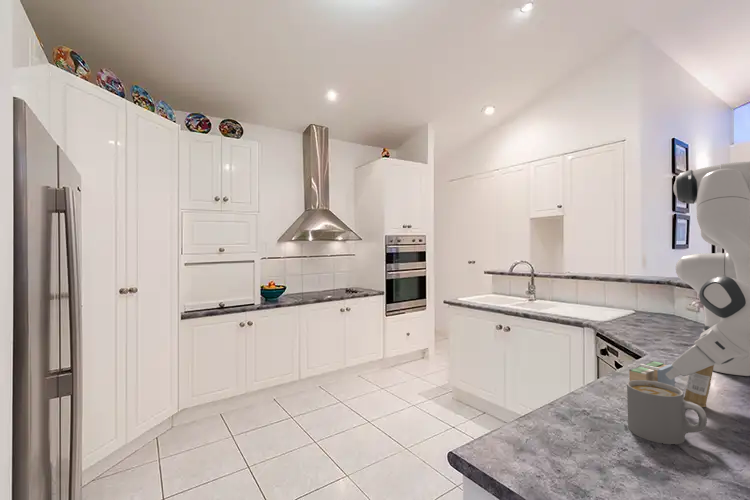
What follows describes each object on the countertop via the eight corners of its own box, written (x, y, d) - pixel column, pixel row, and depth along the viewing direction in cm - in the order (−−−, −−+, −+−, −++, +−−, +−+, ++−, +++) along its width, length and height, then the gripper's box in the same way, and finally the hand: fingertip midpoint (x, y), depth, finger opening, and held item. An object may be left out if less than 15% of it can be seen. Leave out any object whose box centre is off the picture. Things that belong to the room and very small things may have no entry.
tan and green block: (652, 385, 108) (651, 361, 108) (668, 389, 104) (668, 364, 104) (629, 395, 100) (629, 369, 100) (646, 400, 97) (645, 373, 97)
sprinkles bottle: (708, 405, 93) (719, 356, 92) (702, 409, 91) (713, 358, 89) (686, 397, 97) (696, 349, 96) (679, 400, 95) (690, 351, 93)
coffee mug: (620, 430, 81) (619, 386, 81) (638, 418, 87) (637, 376, 87) (698, 457, 70) (696, 406, 70) (712, 441, 76) (711, 394, 76)
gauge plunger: (654, 388, 105) (653, 358, 105) (675, 393, 100) (674, 362, 101) (640, 394, 100) (639, 364, 100) (661, 400, 96) (660, 368, 96)
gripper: (725, 328, 96) (681, 356, 104) (696, 339, 85) (649, 369, 94) (749, 348, 92) (701, 376, 100) (722, 362, 82) (670, 392, 90)
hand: (676, 373), depth 97 cm, fingers open, 8 cm apart
